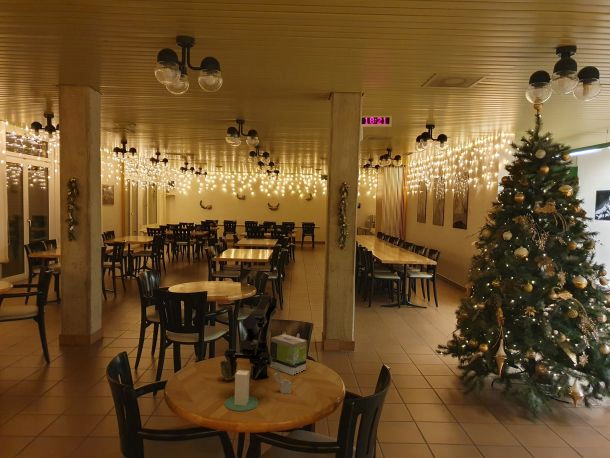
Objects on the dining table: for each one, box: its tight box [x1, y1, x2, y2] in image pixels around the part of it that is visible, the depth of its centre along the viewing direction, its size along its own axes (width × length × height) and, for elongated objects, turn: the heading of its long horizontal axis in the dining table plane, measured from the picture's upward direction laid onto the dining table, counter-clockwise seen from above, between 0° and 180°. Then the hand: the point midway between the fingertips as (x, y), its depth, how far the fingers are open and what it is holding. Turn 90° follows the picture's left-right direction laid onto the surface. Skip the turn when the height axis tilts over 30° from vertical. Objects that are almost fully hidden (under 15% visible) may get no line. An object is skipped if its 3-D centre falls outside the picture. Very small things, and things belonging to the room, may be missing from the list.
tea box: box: [269, 333, 308, 376], centre depth 206 cm, size 15×10×15 cm, turn 49°
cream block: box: [234, 369, 251, 406], centre depth 168 cm, size 4×4×12 cm
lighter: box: [273, 372, 292, 394], centre depth 180 cm, size 7×2×8 cm, turn 86°
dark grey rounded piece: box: [219, 359, 238, 382], centre depth 190 cm, size 8×7×8 cm
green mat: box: [224, 395, 260, 412], centre depth 168 cm, size 13×13×1 cm
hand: (243, 377), depth 169 cm, fingers open, 9 cm apart
